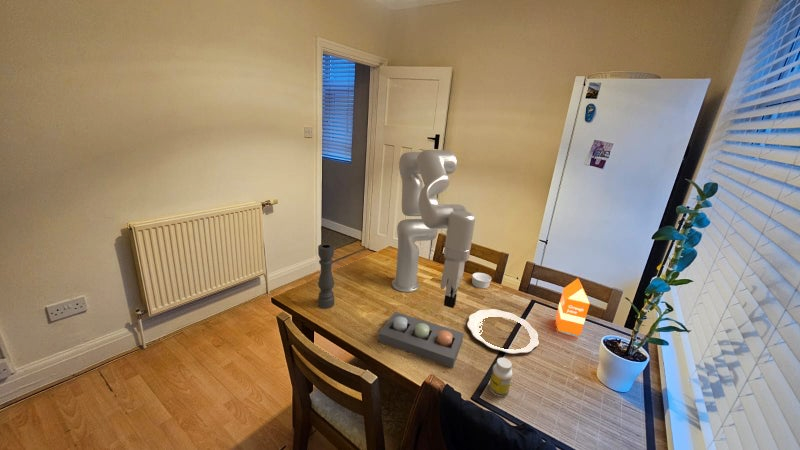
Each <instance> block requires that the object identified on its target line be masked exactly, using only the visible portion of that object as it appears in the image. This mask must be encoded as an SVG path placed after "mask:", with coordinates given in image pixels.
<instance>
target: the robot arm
mask: <svg viewBox="0 0 800 450" xmlns="http://www.w3.org/2000/svg"><path fill="white" fill-rule="evenodd" d="M457 165H458V161H457V157H456V155H455V153H454V152H452V151H451V150H445V149H424V150H422V151H408V152H404V153H402V154H401V155H400V157H399V159H398V169H399V175H400V178H401V184H402V186H401V212H402V214H403V215H404V216H406V217H421V218H405V219H402V220H400V221H399V222H398V223H397V226H396V227H397V228H396V230H397V231H396V233H397V254H396V255H397V257H396V258H397V259H396V270H395V278H394V279H393V280H392V281H391V286H392V287H393V289H395V291H400V292H401V293H403V292H404V293H411V292H416V291H418V289H419V288H420V282H419V281H418V280H417V279H418V277H417V276H418V270H419V268H418V267H419V260H420V259H419V258H420V256H419V255H420V249H419V247H418V245H417V243H416V242H425V241H426V242H427V241H432V240H435V239H436V237H437V234H438V229H441V230H442V229H446V234H445V235H446V237H445V243H444V250H443V251H444V253H443V257H444V258H445V261H444V264H443V270H442V274H441V280H440V286H439V287H440V289H441V290H444V289H445V293H444V301H443V306H444V307H447V308H450V309H451V308H452V309H454V308H455V305H456V302H457V295H458V294H457V292H458V288H459V286H460V284H461V282H462V280H463V276H464V271H465V263H466V262H467V261H469V260H470V255H471V246H472V242H473V236H474V235H473V234H474V230H475V223H476V217H475V215H474V214H473V213H471V212H470V211H468V209H467V208H466V207H465V206H464V205H462V204H456V203H455V204H454V203H452V204H451V203H450V204H448V203H446V204H445V203H442V204H441V203H440V204H439V199H438V197H437V195H440V194H441V193H443V192H444V191H445V190H447V189H448V187H449V186H450V178H449V176H448V175H451V174H453V173H455V172H456V169H457ZM419 175H420V176H419Z"/></svg>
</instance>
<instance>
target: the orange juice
mask: <svg viewBox="0 0 800 450" xmlns="http://www.w3.org/2000/svg"><path fill="white" fill-rule="evenodd" d="M585 291H586V290H585V289H584V288H583V285H582V283H581V281H580V279H579V278H576V279H575V280H573V281H572V282H571V283H569V284H568V285H566V286H565V287H563V289H562V293H561V296H560V301H559V303H558V306H557V307H558V308H557V311H556V315H555V318H556V322H557V328H558V330H559V331H564V332H569V333H572V334H576V335H580V336H581V334H582V331H583V327H584V324H585V321H586V318H587V314H588V312H589V308H590V305H591V304H590V301H589V298H588V296H587V293H586V292H585ZM556 322H555V323H556ZM557 328H556V329H557Z"/></svg>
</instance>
